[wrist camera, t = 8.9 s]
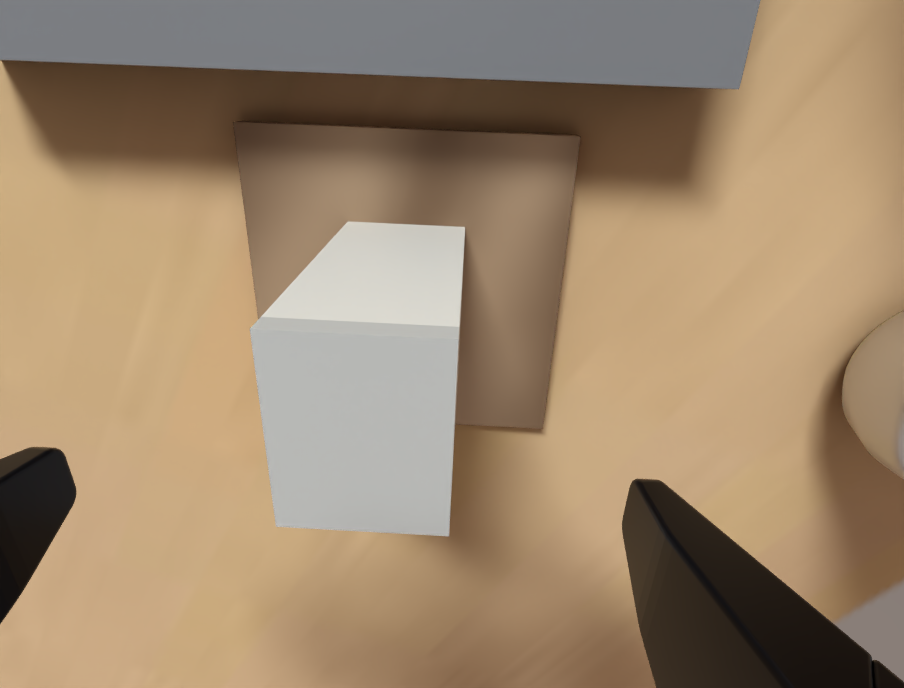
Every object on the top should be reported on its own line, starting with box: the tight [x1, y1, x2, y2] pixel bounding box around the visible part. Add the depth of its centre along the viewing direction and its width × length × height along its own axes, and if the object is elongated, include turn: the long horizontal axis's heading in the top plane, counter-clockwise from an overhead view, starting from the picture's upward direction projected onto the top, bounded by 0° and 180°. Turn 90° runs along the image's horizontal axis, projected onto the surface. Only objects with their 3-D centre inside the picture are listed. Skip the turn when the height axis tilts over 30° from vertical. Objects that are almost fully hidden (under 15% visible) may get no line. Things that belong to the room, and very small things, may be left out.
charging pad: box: [233, 121, 581, 429], centre depth 20 cm, size 11×11×1 cm
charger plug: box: [250, 221, 465, 536], centre depth 16 cm, size 4×5×9 cm
